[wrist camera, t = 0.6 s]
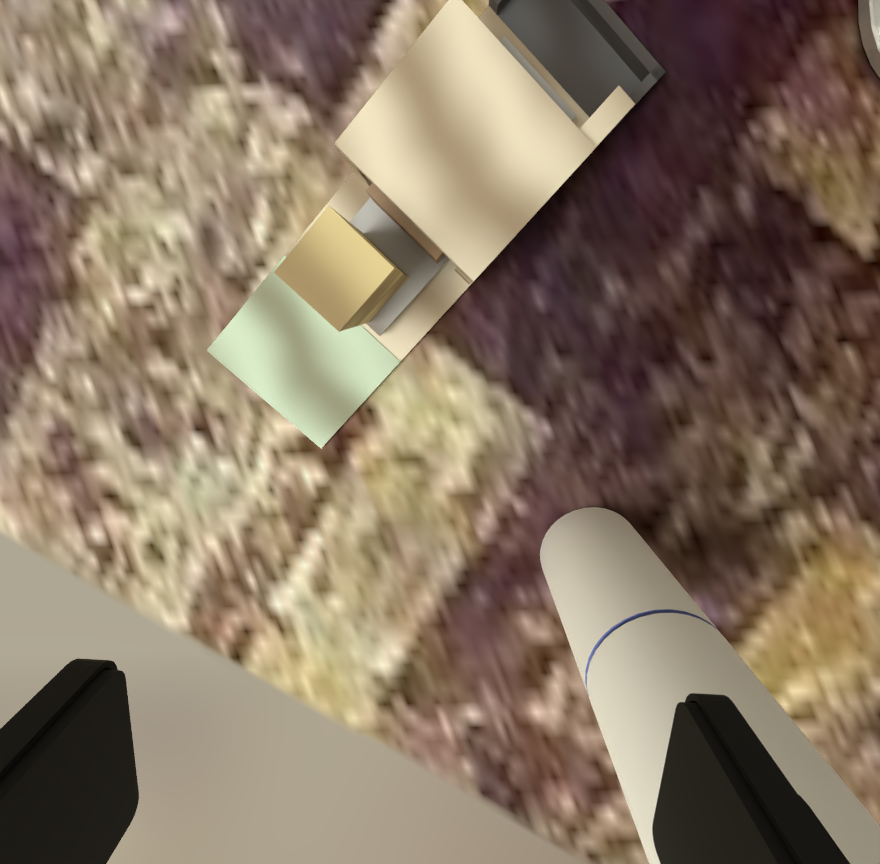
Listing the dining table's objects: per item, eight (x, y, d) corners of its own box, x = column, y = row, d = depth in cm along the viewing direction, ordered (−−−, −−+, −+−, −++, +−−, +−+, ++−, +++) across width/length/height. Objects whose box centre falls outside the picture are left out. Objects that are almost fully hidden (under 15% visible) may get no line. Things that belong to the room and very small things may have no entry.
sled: (502, 45, 29) (533, -93, 19) (571, 121, 30) (637, 30, 20) (313, 271, 32) (252, 259, 22) (381, 334, 33) (353, 350, 23)
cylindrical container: (583, 488, 37) (856, 861, 12) (660, 543, 38) (1054, 990, 13) (519, 563, 38) (652, 1028, 14) (595, 614, 39) (844, 1133, 15)
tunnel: (538, -52, 29) (565, -151, 22) (654, 82, 30) (709, 26, 24) (210, 349, 34) (158, 361, 28) (322, 446, 36) (297, 477, 30)
